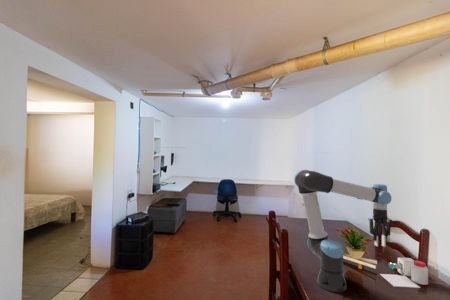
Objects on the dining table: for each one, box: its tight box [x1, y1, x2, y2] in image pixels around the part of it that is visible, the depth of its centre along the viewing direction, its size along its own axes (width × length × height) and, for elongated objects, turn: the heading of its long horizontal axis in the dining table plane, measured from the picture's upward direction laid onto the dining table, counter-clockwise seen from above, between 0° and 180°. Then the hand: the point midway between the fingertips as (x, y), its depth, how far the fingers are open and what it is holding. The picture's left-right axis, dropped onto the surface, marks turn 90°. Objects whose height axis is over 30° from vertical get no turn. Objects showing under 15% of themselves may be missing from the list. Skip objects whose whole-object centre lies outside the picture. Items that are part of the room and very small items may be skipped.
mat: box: [379, 273, 421, 289], centre depth 142 cm, size 14×14×1 cm
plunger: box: [387, 261, 403, 270], centre depth 152 cm, size 10×4×4 cm, turn 86°
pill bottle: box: [410, 260, 429, 286], centre depth 142 cm, size 8×8×11 cm
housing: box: [397, 257, 415, 277], centre depth 151 cm, size 8×6×9 cm
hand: (379, 245), depth 153 cm, fingers open, 4 cm apart
